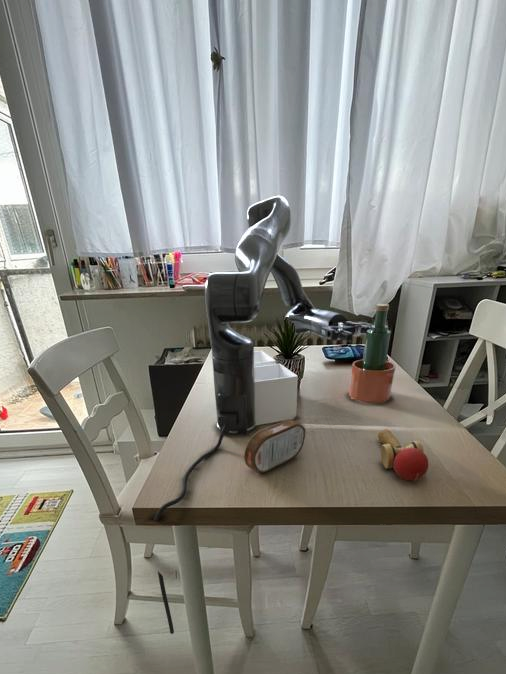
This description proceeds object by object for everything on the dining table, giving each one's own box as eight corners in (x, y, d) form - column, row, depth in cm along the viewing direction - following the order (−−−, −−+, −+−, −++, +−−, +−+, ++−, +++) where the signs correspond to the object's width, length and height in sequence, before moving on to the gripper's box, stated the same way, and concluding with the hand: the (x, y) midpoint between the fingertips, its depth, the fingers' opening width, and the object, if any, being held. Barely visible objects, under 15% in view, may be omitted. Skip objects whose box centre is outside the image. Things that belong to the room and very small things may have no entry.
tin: (295, 449, 84) (297, 412, 80) (306, 454, 82) (309, 417, 78) (243, 474, 76) (242, 435, 72) (254, 481, 74) (253, 441, 70)
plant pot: (392, 405, 103) (399, 371, 99) (350, 403, 105) (354, 370, 100) (386, 390, 113) (391, 359, 108) (347, 389, 114) (350, 358, 109)
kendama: (362, 448, 86) (390, 482, 70) (370, 420, 84) (401, 450, 68) (395, 452, 87) (431, 488, 71) (404, 425, 84) (443, 455, 68)
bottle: (381, 399, 106) (397, 306, 93) (359, 398, 106) (371, 306, 94) (378, 391, 110) (393, 302, 98) (357, 391, 111) (368, 302, 99)
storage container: (296, 418, 98) (297, 376, 92) (254, 425, 95) (254, 382, 89) (262, 387, 118) (261, 350, 112) (227, 392, 115) (225, 354, 109)
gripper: (309, 314, 112) (344, 323, 100) (349, 309, 117) (387, 317, 105) (308, 341, 116) (341, 353, 104) (346, 335, 121) (382, 346, 109)
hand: (364, 335), depth 104 cm, fingers open, 8 cm apart
